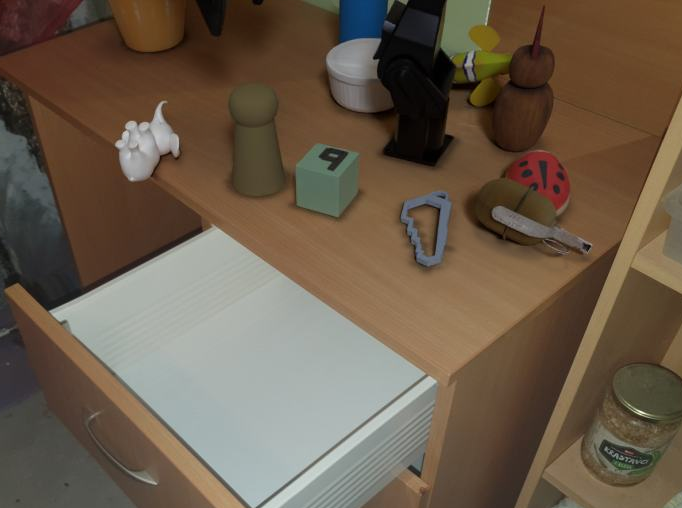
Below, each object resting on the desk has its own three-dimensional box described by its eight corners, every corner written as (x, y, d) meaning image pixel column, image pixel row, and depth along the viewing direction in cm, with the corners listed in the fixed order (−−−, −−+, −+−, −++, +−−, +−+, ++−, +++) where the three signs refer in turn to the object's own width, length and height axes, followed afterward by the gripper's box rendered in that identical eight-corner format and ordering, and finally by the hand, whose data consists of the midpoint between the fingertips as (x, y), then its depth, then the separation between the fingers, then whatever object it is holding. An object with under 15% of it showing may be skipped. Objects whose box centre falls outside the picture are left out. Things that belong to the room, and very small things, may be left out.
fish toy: (515, 102, 85) (536, 100, 94) (514, 14, 82) (536, 21, 91) (395, 114, 92) (425, 112, 102) (391, 34, 90) (423, 39, 99)
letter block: (338, 217, 76) (338, 175, 72) (296, 206, 78) (294, 163, 74) (358, 193, 79) (359, 150, 75) (317, 182, 81) (316, 140, 77)
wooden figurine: (506, 124, 88) (531, -4, 77) (551, 138, 85) (583, 7, 75) (479, 148, 84) (501, 17, 74) (524, 164, 82) (555, 30, 71)
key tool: (393, 268, 71) (445, 269, 69) (392, 261, 70) (445, 261, 69) (405, 198, 79) (452, 197, 77) (405, 191, 78) (452, 190, 77)
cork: (293, 188, 80) (290, 94, 72) (242, 201, 79) (233, 107, 71) (274, 161, 84) (269, 70, 76) (225, 173, 83) (215, 81, 75)
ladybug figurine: (560, 168, 80) (569, 141, 77) (574, 228, 74) (585, 200, 71) (498, 165, 80) (506, 138, 78) (507, 224, 74) (515, 196, 71)
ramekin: (343, 124, 89) (344, 84, 85) (313, 85, 97) (313, 46, 93) (426, 108, 91) (431, 67, 87) (391, 70, 99) (393, 31, 95)
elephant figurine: (131, 81, 84) (149, 124, 90) (88, 154, 79) (109, 195, 84) (188, 85, 82) (203, 128, 87) (148, 160, 77) (166, 202, 82)
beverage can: (384, 48, 104) (390, -42, 95) (384, 69, 99) (390, -24, 91) (339, 48, 105) (340, -41, 96) (337, 68, 100) (338, -24, 91)
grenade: (472, 213, 76) (578, 268, 73) (456, 225, 71) (569, 283, 68) (498, 162, 73) (610, 216, 70) (483, 170, 68) (603, 228, 65)
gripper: (204, -173, 78) (218, -20, 89) (97, -129, 66) (129, 40, 78) (296, -166, 74) (299, -7, 85) (200, -118, 63) (218, 58, 74)
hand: (237, 19), depth 81 cm, fingers open, 9 cm apart
